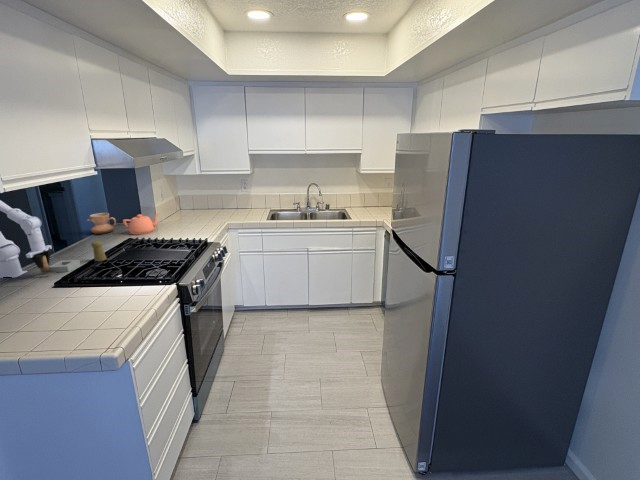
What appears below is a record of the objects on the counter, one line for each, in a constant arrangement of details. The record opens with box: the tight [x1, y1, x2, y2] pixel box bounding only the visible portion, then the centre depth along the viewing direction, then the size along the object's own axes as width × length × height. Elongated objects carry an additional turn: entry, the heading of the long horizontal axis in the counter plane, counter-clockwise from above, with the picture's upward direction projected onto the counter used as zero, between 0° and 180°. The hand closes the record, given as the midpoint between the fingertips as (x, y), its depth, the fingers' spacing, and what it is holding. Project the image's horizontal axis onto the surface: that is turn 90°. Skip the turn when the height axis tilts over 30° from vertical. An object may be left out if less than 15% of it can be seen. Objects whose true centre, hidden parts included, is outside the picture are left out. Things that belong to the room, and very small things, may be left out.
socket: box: [48, 259, 81, 273], centre depth 180 cm, size 10×10×3 cm
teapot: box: [122, 213, 160, 236], centre depth 246 cm, size 25×17×13 cm
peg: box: [39, 256, 50, 273], centre depth 172 cm, size 4×4×8 cm
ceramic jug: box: [86, 212, 117, 235], centre depth 249 cm, size 18×14×14 cm
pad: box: [32, 271, 58, 279], centre depth 173 cm, size 8×8×1 cm
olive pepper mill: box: [91, 240, 108, 262], centre depth 191 cm, size 6×6×11 cm
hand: (44, 266), depth 172 cm, fingers closed on peg, 4 cm apart
